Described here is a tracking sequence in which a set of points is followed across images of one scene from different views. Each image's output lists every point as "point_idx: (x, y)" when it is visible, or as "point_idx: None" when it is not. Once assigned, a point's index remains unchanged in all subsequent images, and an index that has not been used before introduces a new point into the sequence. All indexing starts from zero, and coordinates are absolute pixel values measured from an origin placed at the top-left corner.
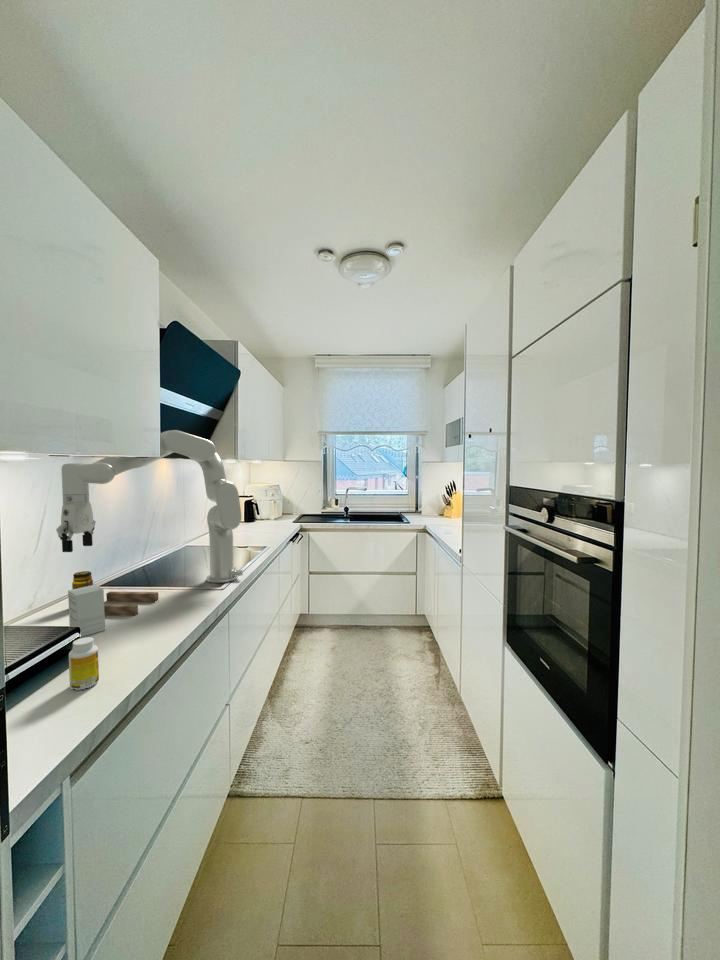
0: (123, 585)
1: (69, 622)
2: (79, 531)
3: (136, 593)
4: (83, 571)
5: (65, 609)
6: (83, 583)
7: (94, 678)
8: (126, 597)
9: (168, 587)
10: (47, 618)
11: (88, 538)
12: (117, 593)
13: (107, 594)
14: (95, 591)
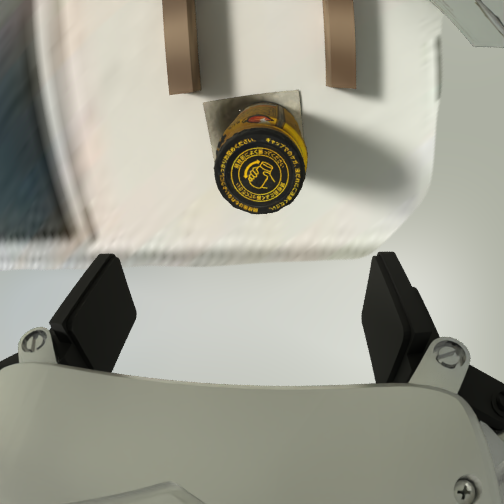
0: (48, 168)
1: (488, 46)
2: (370, 401)
3: None
4: (226, 191)
5: None
6: (295, 131)
7: None
8: (190, 12)
9: (40, 4)
10: (378, 179)
11: (94, 319)
12: (189, 44)
13: (194, 87)
14: None
